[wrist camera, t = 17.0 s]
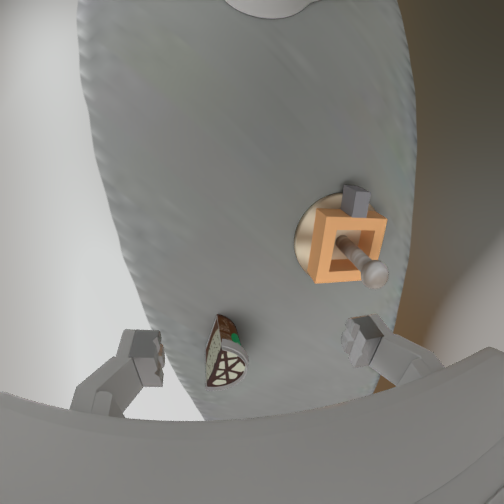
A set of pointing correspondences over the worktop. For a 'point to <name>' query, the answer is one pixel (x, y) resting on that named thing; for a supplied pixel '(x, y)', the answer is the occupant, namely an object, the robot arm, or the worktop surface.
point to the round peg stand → (339, 245)
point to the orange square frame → (345, 218)
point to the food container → (224, 356)
